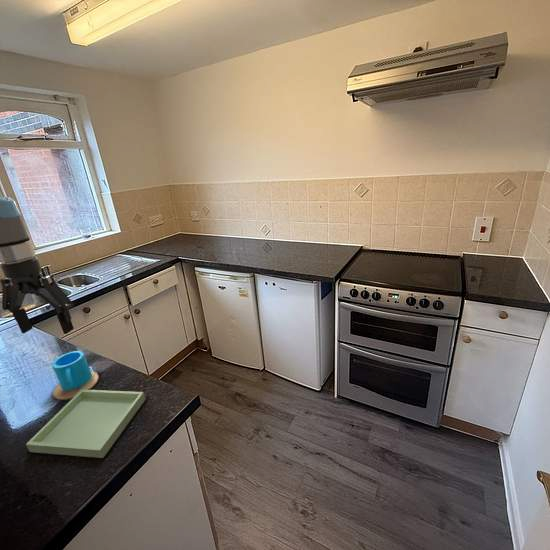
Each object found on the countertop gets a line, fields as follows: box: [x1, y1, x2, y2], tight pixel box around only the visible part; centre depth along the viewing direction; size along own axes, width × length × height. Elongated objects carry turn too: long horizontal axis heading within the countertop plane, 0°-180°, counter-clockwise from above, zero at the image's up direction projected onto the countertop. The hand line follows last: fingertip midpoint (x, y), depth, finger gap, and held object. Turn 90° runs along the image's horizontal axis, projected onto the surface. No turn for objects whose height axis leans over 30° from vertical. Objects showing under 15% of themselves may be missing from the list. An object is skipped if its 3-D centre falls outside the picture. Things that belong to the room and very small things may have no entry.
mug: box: [51, 350, 92, 390], centre depth 90 cm, size 12×8×8 cm
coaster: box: [52, 370, 100, 401], centre depth 91 cm, size 12×12×1 cm
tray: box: [25, 389, 147, 459], centre depth 76 cm, size 20×18×2 cm
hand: (48, 331), depth 84 cm, fingers open, 13 cm apart
